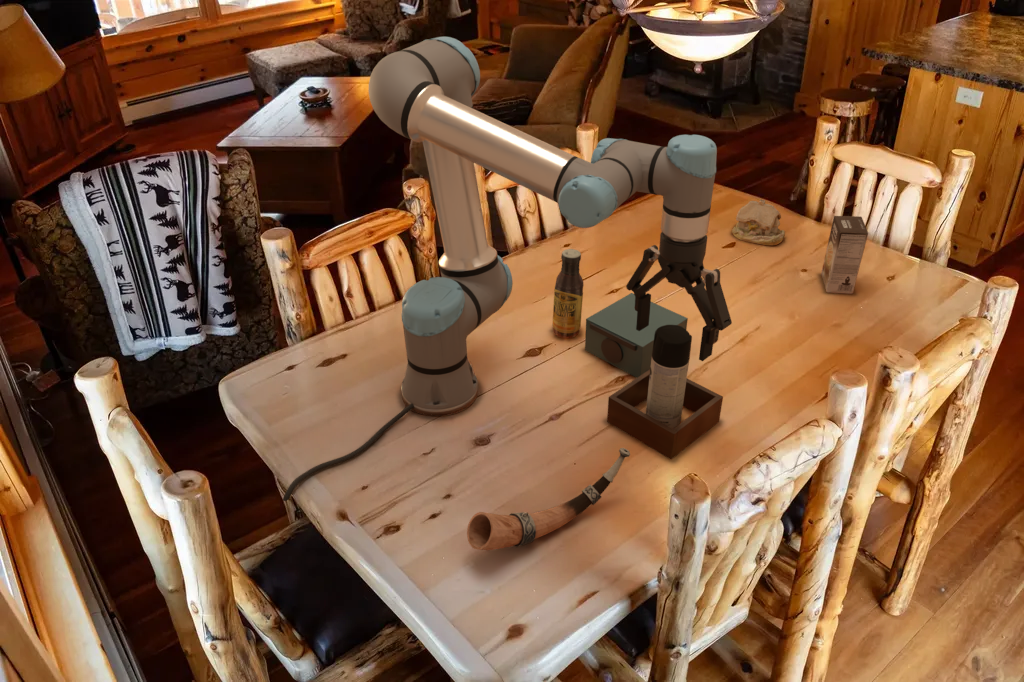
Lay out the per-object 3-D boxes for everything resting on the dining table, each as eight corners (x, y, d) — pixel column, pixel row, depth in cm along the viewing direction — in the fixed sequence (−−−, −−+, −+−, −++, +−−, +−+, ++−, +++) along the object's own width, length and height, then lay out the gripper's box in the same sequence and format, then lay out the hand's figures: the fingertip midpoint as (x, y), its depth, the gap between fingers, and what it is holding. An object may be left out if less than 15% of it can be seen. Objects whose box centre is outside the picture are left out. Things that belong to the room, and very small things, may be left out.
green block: (638, 380, 163) (641, 348, 159) (583, 351, 172) (584, 319, 168) (684, 349, 172) (687, 318, 167) (629, 323, 181) (631, 292, 176)
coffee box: (819, 274, 198) (833, 214, 189) (847, 275, 197) (861, 215, 188) (826, 293, 190) (840, 231, 181) (854, 294, 189) (869, 233, 181)
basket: (671, 459, 143) (674, 434, 140) (606, 421, 152) (608, 396, 149) (719, 421, 152) (723, 396, 148) (655, 387, 161) (658, 363, 158)
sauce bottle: (547, 335, 177) (548, 255, 166) (559, 321, 182) (561, 243, 171) (574, 342, 175) (577, 262, 164) (586, 328, 179) (589, 249, 168)
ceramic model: (723, 235, 217) (728, 200, 211) (742, 220, 224) (748, 187, 218) (772, 249, 209) (779, 214, 203) (791, 234, 216) (797, 200, 210)
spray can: (669, 407, 156) (679, 320, 145) (687, 428, 150) (699, 339, 139) (638, 415, 154) (646, 327, 143) (656, 437, 148) (666, 347, 137)
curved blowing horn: (463, 553, 126) (459, 507, 121) (615, 481, 139) (618, 437, 133) (480, 577, 122) (478, 531, 117) (635, 501, 135) (640, 456, 129)
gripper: (764, 249, 125) (746, 361, 136) (637, 204, 140) (631, 308, 152) (737, 265, 120) (720, 380, 132) (609, 217, 136) (605, 323, 147)
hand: (672, 342), depth 142 cm, fingers open, 13 cm apart
